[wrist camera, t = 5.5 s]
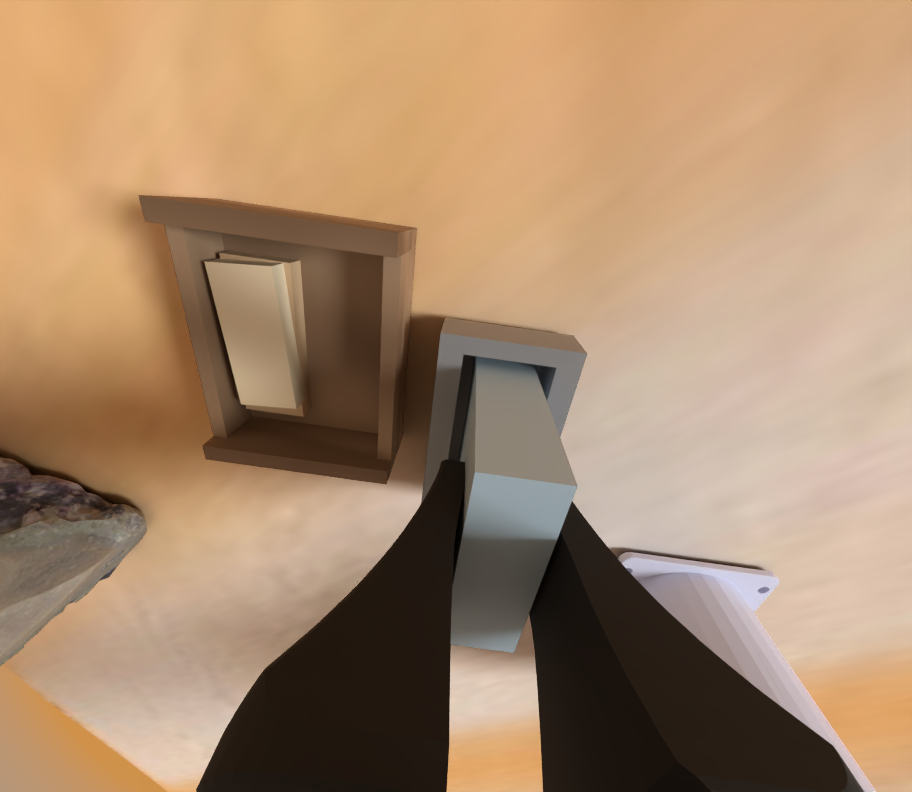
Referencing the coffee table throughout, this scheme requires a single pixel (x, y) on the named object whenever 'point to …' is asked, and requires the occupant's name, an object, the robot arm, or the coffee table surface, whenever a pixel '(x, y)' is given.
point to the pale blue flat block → (506, 504)
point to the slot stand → (466, 339)
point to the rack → (327, 333)
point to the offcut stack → (263, 329)
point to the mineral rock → (53, 548)
